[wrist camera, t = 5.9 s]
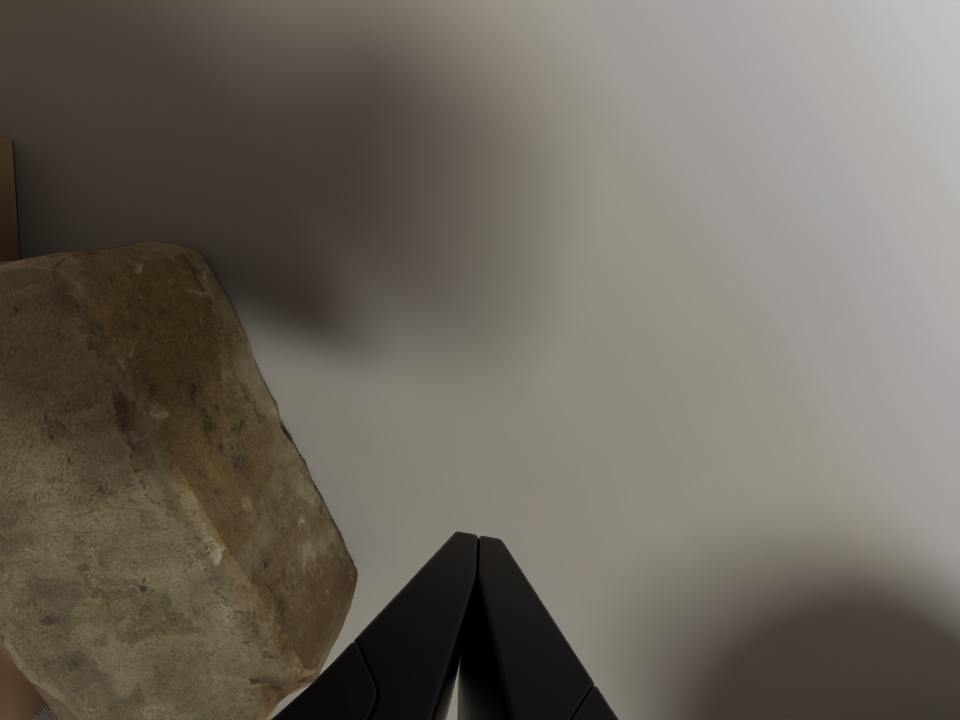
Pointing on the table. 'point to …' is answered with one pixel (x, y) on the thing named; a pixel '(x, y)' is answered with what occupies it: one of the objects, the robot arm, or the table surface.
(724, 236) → the table surface
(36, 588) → the stone block
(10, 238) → the wooden furniture piece
